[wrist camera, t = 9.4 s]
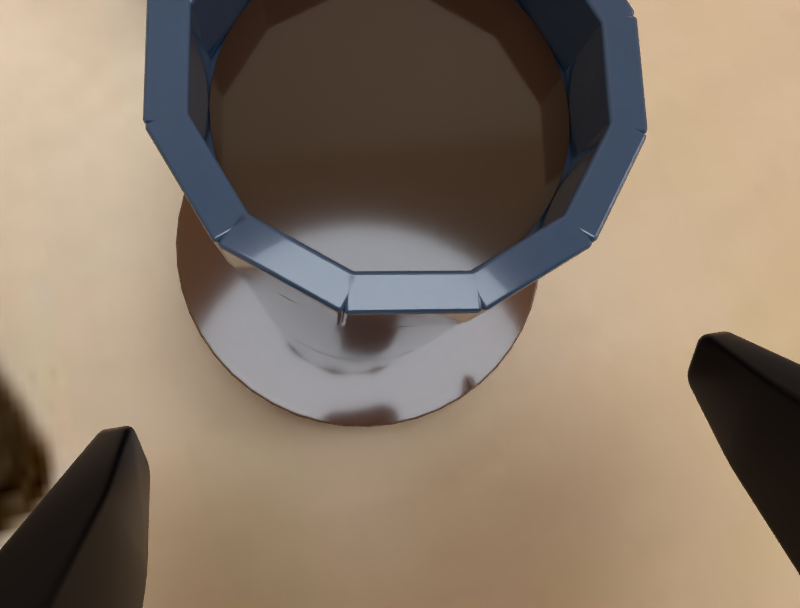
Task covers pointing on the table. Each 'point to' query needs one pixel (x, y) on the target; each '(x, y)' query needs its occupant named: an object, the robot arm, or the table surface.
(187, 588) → the table surface
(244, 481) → the table surface
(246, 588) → the table surface
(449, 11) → the mug
